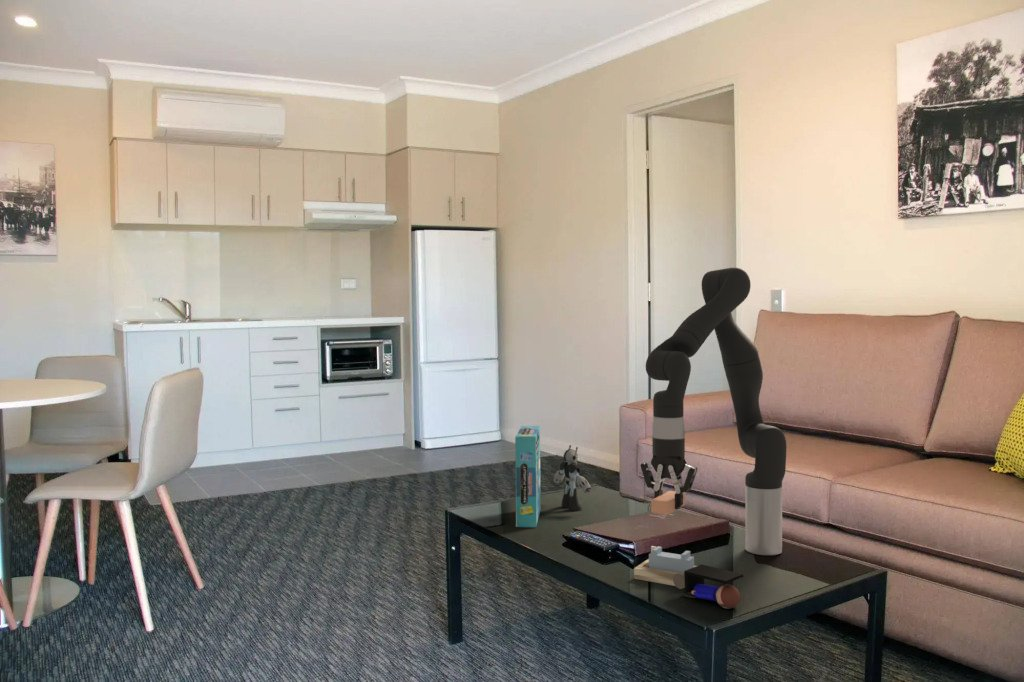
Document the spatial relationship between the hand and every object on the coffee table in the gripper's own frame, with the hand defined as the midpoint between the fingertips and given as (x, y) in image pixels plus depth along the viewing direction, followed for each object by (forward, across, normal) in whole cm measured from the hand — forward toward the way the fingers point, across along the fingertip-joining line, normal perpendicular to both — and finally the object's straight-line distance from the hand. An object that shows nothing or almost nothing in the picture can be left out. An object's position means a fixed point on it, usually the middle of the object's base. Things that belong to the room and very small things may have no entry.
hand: (668, 507), depth 199 cm
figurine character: (+17, +13, -10) cm, 24 cm away
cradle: (+17, 0, 0) cm, 17 cm away
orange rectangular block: (0, 0, 0) cm, 0 cm away
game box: (+17, -58, +31) cm, 68 cm away
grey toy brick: (+16, 0, 0) cm, 16 cm away
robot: (+17, -53, +49) cm, 74 cm away
